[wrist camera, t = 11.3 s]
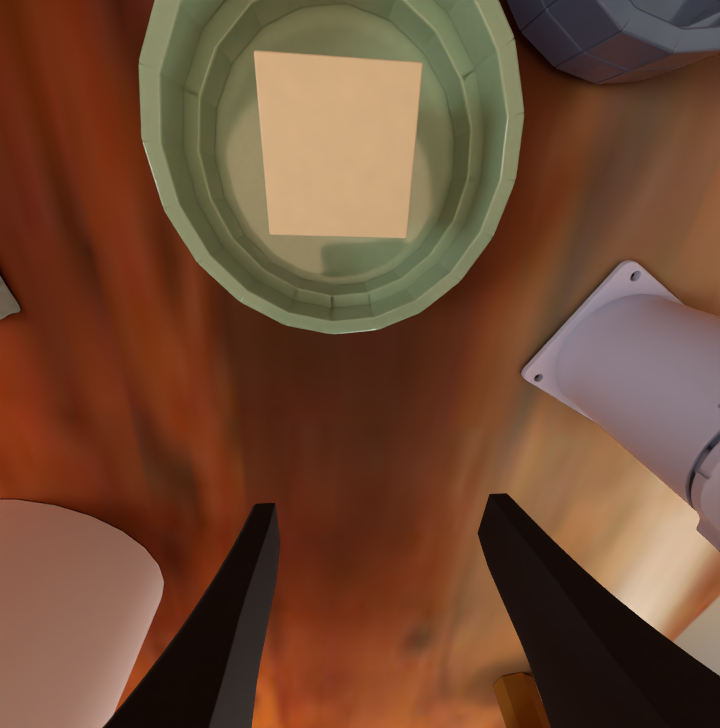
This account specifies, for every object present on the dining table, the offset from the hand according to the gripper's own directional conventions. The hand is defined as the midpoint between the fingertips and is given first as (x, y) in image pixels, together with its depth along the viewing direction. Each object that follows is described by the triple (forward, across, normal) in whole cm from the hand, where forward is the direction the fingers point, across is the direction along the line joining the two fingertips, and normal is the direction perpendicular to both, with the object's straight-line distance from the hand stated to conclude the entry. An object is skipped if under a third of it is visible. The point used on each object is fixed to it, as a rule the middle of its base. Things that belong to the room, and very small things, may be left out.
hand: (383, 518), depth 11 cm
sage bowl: (+9, +1, -11) cm, 14 cm away
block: (+9, +1, -11) cm, 14 cm away
